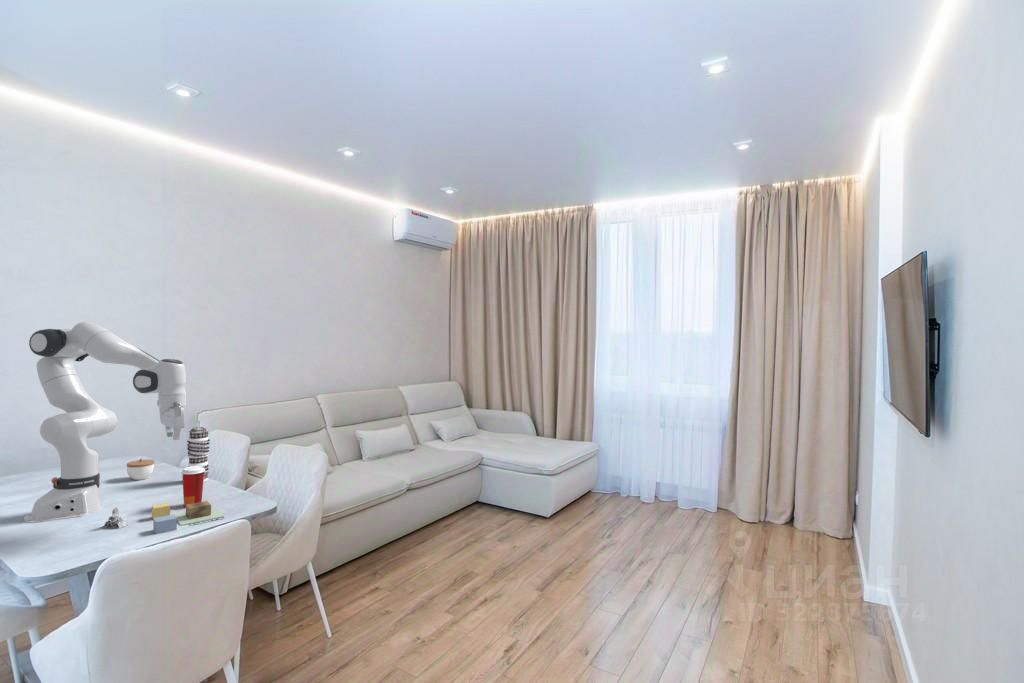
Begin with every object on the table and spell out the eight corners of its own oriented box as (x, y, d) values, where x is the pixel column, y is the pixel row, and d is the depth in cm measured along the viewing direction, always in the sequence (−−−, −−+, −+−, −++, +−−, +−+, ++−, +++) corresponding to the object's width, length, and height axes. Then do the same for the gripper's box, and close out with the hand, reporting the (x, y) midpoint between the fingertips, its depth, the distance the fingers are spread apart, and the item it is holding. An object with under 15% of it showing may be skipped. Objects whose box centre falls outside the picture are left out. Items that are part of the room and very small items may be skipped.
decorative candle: (207, 482, 237) (208, 429, 236) (184, 483, 233) (185, 430, 233) (210, 477, 245) (211, 425, 245) (188, 478, 242) (189, 426, 242)
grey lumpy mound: (144, 524, 184) (144, 503, 184) (121, 532, 176) (121, 511, 176) (124, 521, 186) (125, 501, 186) (100, 530, 178) (101, 508, 178)
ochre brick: (153, 521, 186) (154, 508, 186) (151, 518, 189) (151, 505, 189) (169, 518, 190) (170, 505, 190) (167, 515, 193) (167, 502, 193)
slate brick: (156, 536, 173) (156, 522, 173) (153, 532, 177) (153, 518, 177) (176, 532, 177) (176, 518, 177) (173, 528, 181) (173, 514, 181)
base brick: (189, 519, 186) (189, 508, 186) (185, 515, 191) (185, 504, 191) (210, 515, 191) (211, 504, 191) (206, 511, 196) (206, 500, 196)
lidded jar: (122, 478, 239) (123, 459, 239) (148, 474, 248) (149, 455, 248) (131, 482, 233) (131, 462, 233) (158, 477, 242) (158, 458, 242)
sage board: (180, 527, 181) (181, 524, 181) (172, 517, 191) (172, 514, 191) (224, 518, 191) (224, 515, 191) (213, 509, 201) (213, 506, 201)
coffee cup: (201, 500, 211) (202, 464, 211) (206, 505, 205) (207, 468, 205) (178, 504, 205) (178, 467, 205) (182, 509, 199) (183, 471, 199)
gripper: (189, 403, 186) (190, 440, 186) (175, 399, 200) (175, 433, 200) (169, 404, 182) (170, 443, 182) (156, 400, 196) (156, 436, 196)
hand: (172, 438), depth 191 cm, fingers open, 8 cm apart
